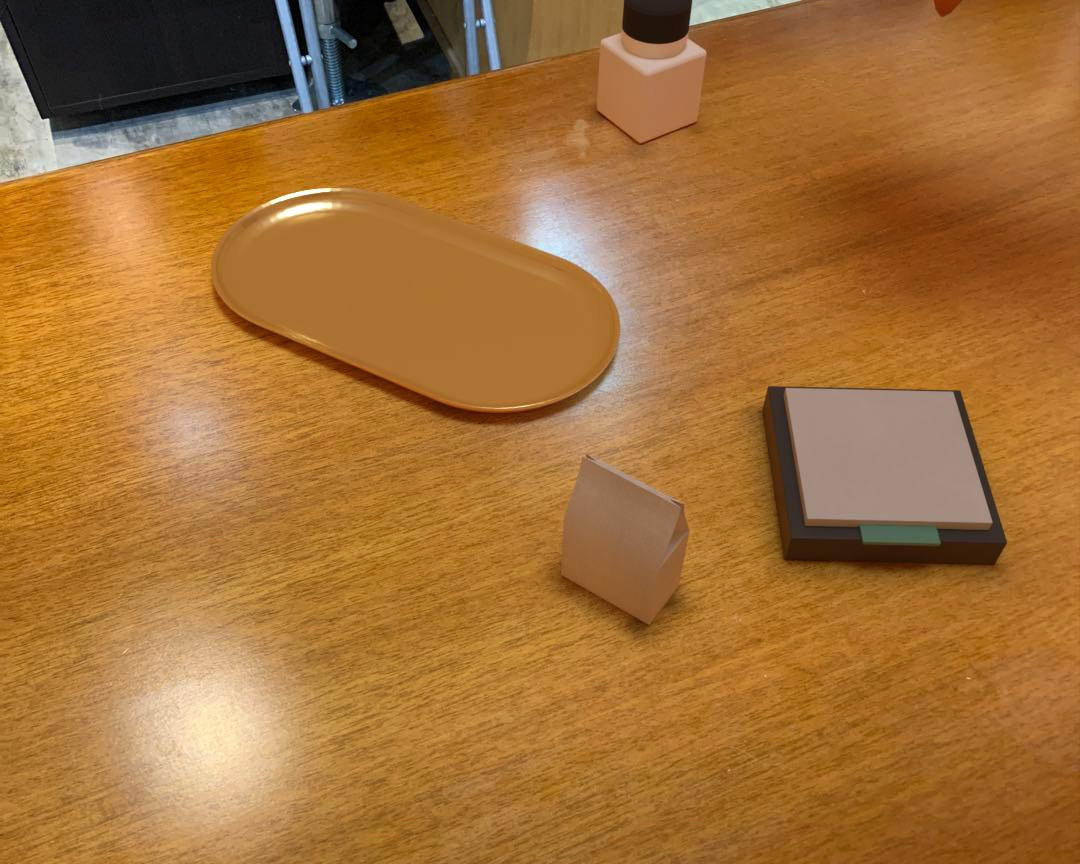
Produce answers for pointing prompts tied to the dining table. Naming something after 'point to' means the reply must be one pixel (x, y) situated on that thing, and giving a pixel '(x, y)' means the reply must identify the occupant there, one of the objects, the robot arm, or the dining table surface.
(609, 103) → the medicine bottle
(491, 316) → the serving platter
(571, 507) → the brown paper bag
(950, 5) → the carrot
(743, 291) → the dining table surface
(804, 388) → the kitchen scale
